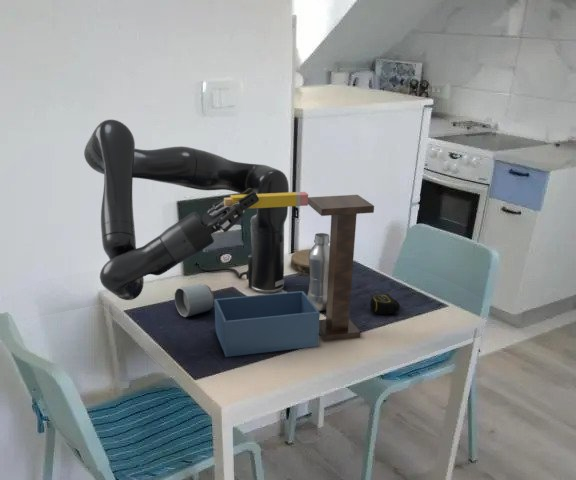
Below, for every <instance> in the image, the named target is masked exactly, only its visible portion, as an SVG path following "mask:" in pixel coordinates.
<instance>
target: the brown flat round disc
mask: <svg viewBox="0 0 576 480" xmlns="http://www.w3.org/2000/svg"><path fill="white" fill-rule="evenodd" d="M310 250H311V248H309V249H302V250H298V251H295V252H293V253H292V254H291V256H290V267H291V269H292V270H293V271H294V272H297V273H299V274H301V275H306V276H310V267H309V259H308V254H309V251H310Z"/></svg>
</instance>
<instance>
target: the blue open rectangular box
mask: <svg viewBox="0 0 576 480" xmlns="http://www.w3.org/2000/svg"><path fill="white" fill-rule="evenodd" d="M307 295H308V294H306V292H305V291H304V290H299V291H289V292H287V291H286V292H275V293H264V294H255V295H245V296H233V297H223V298H214V305H213V307H214V323H215V326H214V327H215V334H216V337H217V339H218V342H219V344H220V346H221V349H222V351H223V354H224V357H226V358H229V357H238V356H246V355H247V356H248V355H256V354H264V353H273V352H282V351H289V350H298V349H299V350H300V349H306V348H307V349H308V348H315V347H316V348H317V347H319V338H320V334H319V320H321V317H320V316H321V311H318V309H317V308H316V307H315V306H314V304H313V303H312V302H311V300H310V299H309V298H308V297H307Z"/></svg>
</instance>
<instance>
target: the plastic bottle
mask: <svg viewBox="0 0 576 480" xmlns="http://www.w3.org/2000/svg"><path fill="white" fill-rule="evenodd" d="M313 243H314V244H313V246H312V247H311V248H310V249H311V250H310V251H309V254H308V259H309V267H310V275H309V285H308V291H307V294H306V295H307V297H308V298H309V299H310V300H311V302H312V303H313V304H314V306H315V307H316V308H317V309H318V311H319V312H323V311H326V308H327V289H328V270H329V251H330V233H325V232H317V233H315V234H314V239H313Z"/></svg>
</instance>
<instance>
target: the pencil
mask: <svg viewBox="0 0 576 480" xmlns="http://www.w3.org/2000/svg"><path fill="white" fill-rule="evenodd" d="M246 195H248V194H244V195H240V194H230V195H229V196H230V198H227V197H223V199H224V206H225V205H229V206H230V205H232V204H233V203H235V202H236V201H239V200H240V199H242V198H243V197H245V196H246ZM256 195H257V196H258V198H259V201H258V202H256V203H255V204H253V205H252V206H250V207H249V208H247V209H257V208H270V207H288V208H289V207H306V206H309V205H308V197H309V194H308V193H307V192H306V191H292V192H291V191H289V192H288V193H266V194H256ZM239 202H240V201H239ZM247 209H246V210H247Z"/></svg>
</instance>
